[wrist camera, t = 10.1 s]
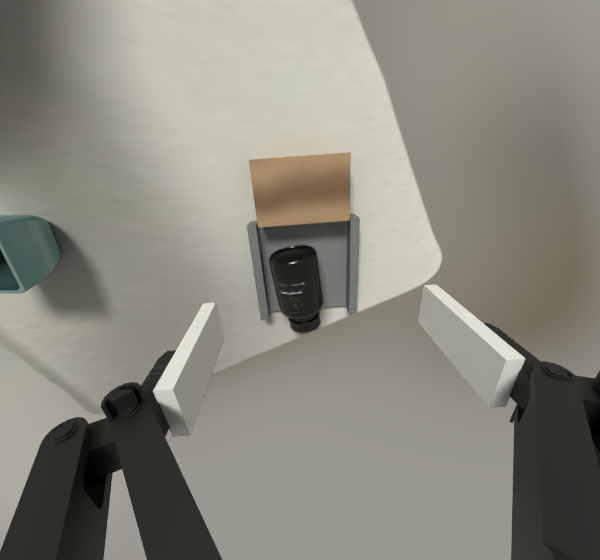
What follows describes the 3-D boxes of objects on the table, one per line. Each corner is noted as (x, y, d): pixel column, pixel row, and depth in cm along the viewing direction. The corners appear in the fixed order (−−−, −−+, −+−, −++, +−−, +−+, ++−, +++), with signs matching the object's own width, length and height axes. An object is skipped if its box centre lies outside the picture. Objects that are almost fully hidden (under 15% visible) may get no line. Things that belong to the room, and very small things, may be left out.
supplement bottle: (286, 266, 31) (303, 344, 36) (326, 247, 34) (337, 320, 39) (257, 257, 36) (276, 326, 41) (295, 241, 39) (308, 307, 44)
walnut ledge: (253, 160, 34) (248, 159, 30) (343, 153, 34) (350, 152, 30) (260, 221, 37) (258, 227, 33) (343, 214, 37) (349, 220, 33)
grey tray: (249, 221, 37) (246, 226, 34) (354, 214, 37) (359, 218, 34) (263, 310, 43) (261, 320, 40) (352, 303, 43) (356, 312, 41)
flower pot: (80, 266, 39) (25, 294, 30) (19, 266, 38) (-53, 294, 30) (58, 206, 35) (-12, 220, 27) (-10, 206, 35) (-102, 219, 26)
